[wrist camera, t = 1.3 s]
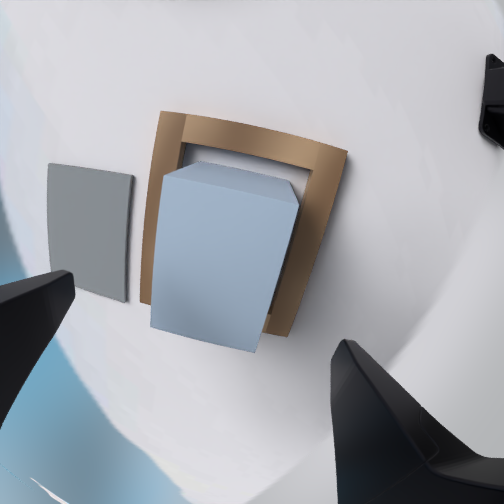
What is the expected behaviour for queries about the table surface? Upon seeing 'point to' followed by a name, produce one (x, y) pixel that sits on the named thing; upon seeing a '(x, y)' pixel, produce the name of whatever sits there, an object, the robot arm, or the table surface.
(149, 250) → the frame
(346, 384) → the robot arm
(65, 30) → the table surface
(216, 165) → the part block
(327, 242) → the table surface
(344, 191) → the table surface
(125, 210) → the pad
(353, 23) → the table surface
